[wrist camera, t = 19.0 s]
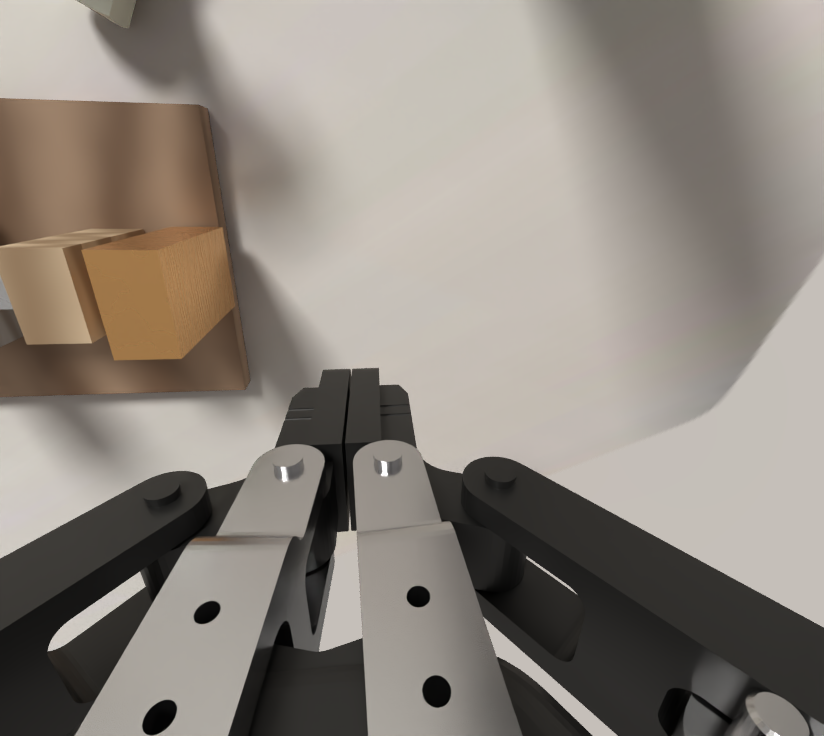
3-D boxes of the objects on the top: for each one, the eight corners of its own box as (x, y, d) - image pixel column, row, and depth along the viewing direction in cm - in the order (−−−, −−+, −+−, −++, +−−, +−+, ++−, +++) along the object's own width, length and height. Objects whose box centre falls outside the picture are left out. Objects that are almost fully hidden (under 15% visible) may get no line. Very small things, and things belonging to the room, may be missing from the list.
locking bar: (222, 226, 26) (157, 250, 18) (235, 305, 28) (181, 359, 20) (-46, 225, 25) (-249, 249, 16) (-12, 308, 27) (-178, 367, 19)
